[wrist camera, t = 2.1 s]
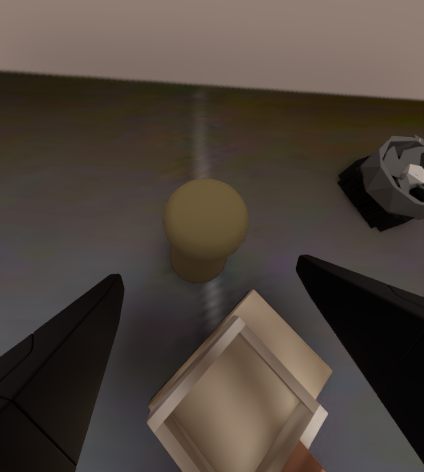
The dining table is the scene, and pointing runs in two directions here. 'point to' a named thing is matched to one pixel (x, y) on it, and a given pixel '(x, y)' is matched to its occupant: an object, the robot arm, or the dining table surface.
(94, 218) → the dining table surface
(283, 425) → the wooden box
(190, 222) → the cork
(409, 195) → the cpu cooler
